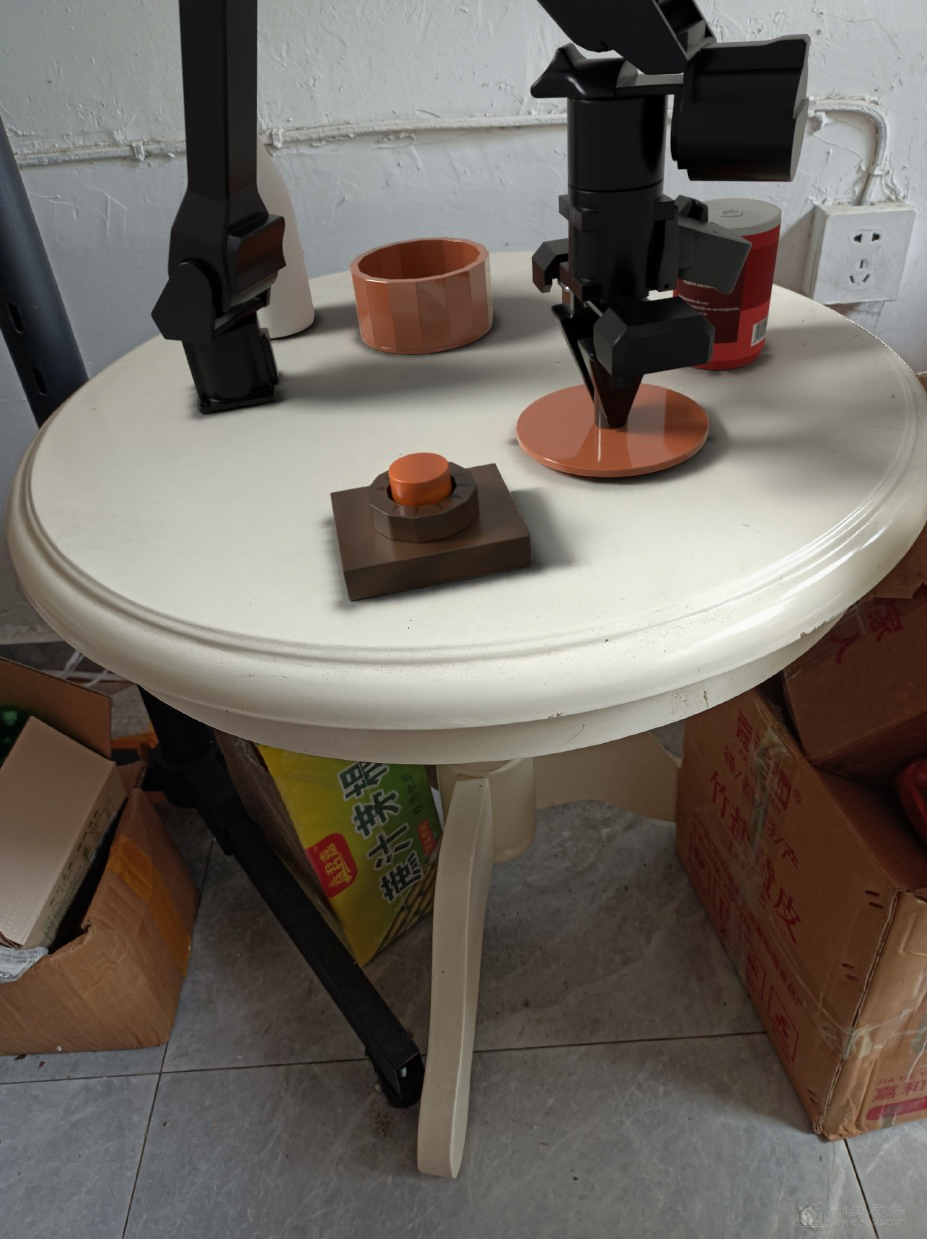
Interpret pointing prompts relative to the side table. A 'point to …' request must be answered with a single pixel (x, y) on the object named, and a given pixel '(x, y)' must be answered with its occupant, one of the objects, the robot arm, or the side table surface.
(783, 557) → the side table surface
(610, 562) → the side table surface
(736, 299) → the canned food
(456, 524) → the block
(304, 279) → the milk bottle
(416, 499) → the button
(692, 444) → the jar lid
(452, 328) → the jar
